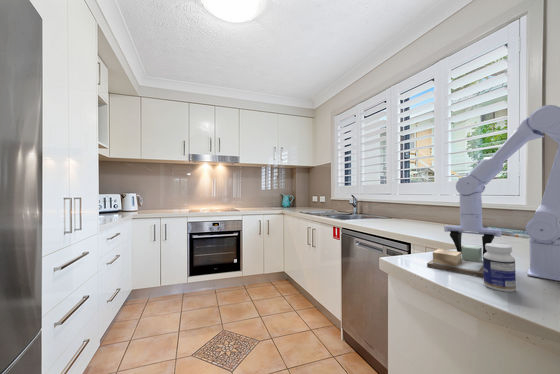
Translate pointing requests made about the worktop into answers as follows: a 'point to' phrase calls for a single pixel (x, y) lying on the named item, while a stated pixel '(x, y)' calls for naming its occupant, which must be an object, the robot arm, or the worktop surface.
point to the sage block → (472, 253)
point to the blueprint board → (455, 263)
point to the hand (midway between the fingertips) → (471, 256)
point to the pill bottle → (499, 267)
